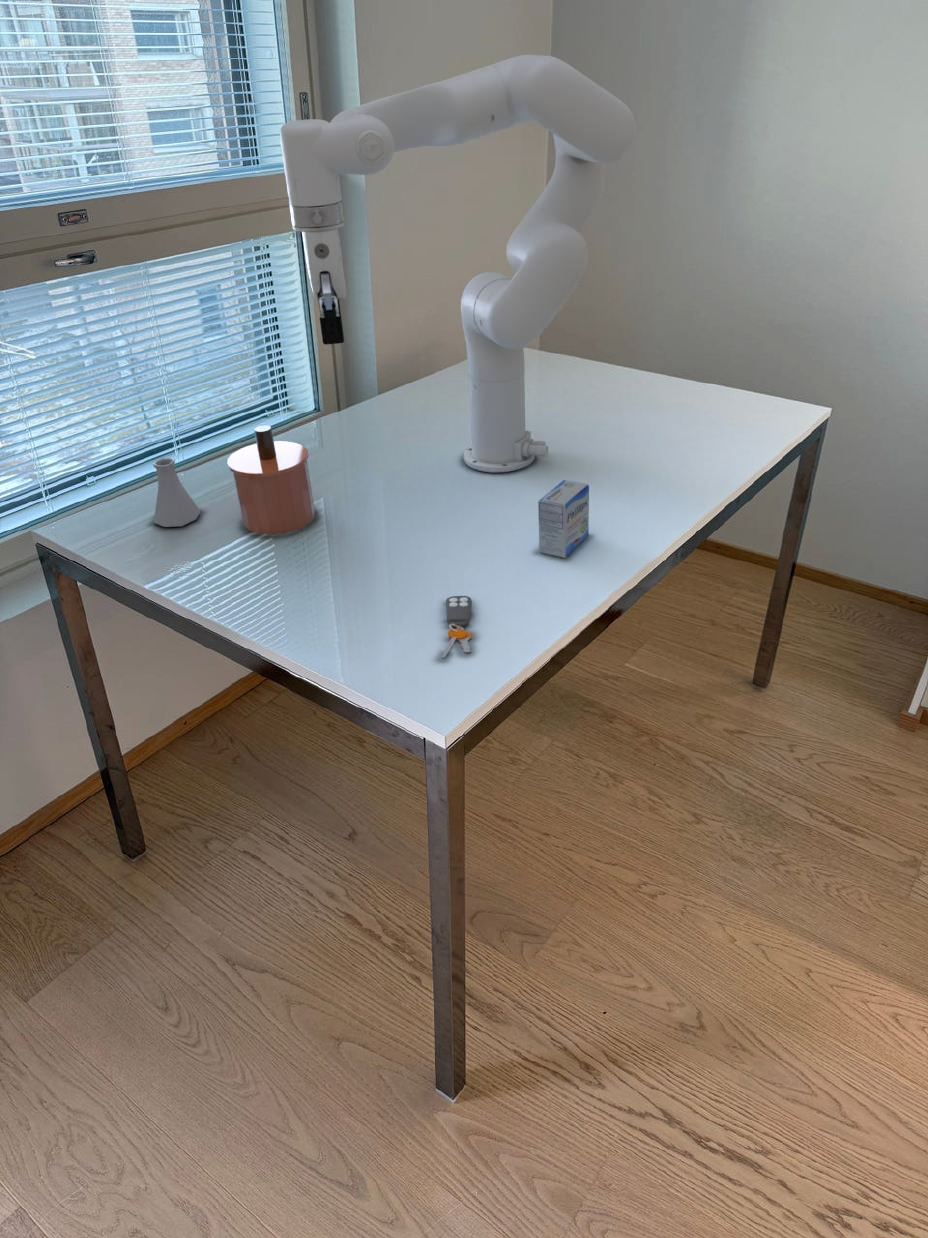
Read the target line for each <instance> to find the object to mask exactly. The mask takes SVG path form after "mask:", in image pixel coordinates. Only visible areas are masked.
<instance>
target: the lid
mask: <svg viewBox="0 0 928 1238" xmlns="http://www.w3.org/2000/svg"><path fill="white" fill-rule="evenodd" d="M253 430H254V431H253V432H254V437H255V441H256V443H253V444H250V445H247V446H244V447H242V448H239V449H237V450H236V451H234V452H233V453H231V455H230V456H229V457H228V458H227V461H226V465H227V468H228V469H229V471H230V472H231V473H232V474H233V473H235V474H238V475H241V476H247V477H267V476H274V475H279V474H283V473H286V472H289V471H292V470H294V469H296V468H298V467H300V466H301V465H303V464H304V463H305V462H306V461H307V462H308V459H309V451H308V448H307V447H306V446H304V445H302V444H300V443H297V442H293V441H285V440H274V434H273V430H272V427H271V426H270V425H266V424H265V425H259V426H256V427H255V428H254V429H253Z"/></svg>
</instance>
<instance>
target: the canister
mask: <svg viewBox="0 0 928 1238" xmlns="http://www.w3.org/2000/svg"><path fill="white" fill-rule="evenodd" d="M232 476H233V480H234V485H235V490H236V495H237V499H238V504H239V509H240V515H241V521H242V523H243V527H244V528H245V529H247V530H248V531H249V532H252V533H255V534H258V535H281V534H282V535H283V534H287V533H291V532H294V531H298V530H300V529H302V528H304V527H306V526H307V525H309V524H310V523H311V522H312V521H313V520H314V518H315V515H316V509H315V504H314V503H315V502H314V496H313V490H312V484H311V478H310V477H311V476H310V471H309V464H308V460H307V461H306V462H305V463H304V464H303V465H301V466H300V467H298V468H296V469H294V470H292V471H289V472H286V473H283V474H279V475H274V476H267V477H247V476H241V475H238V474H235V473H233V472H232Z"/></svg>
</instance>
